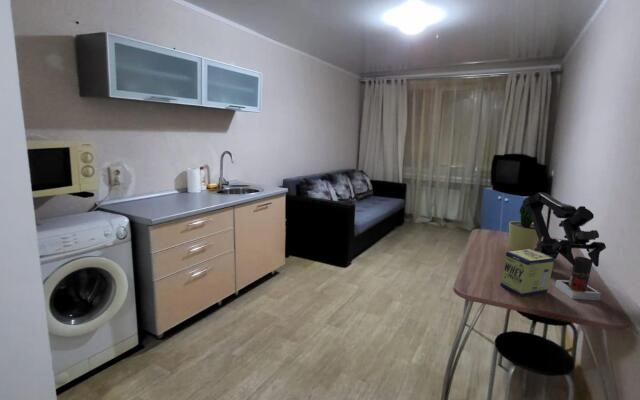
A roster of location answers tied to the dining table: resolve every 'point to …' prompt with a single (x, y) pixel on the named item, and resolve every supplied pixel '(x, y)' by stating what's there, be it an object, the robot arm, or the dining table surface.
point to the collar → (587, 294)
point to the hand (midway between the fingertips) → (585, 265)
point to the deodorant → (580, 274)
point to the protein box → (527, 272)
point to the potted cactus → (522, 232)
